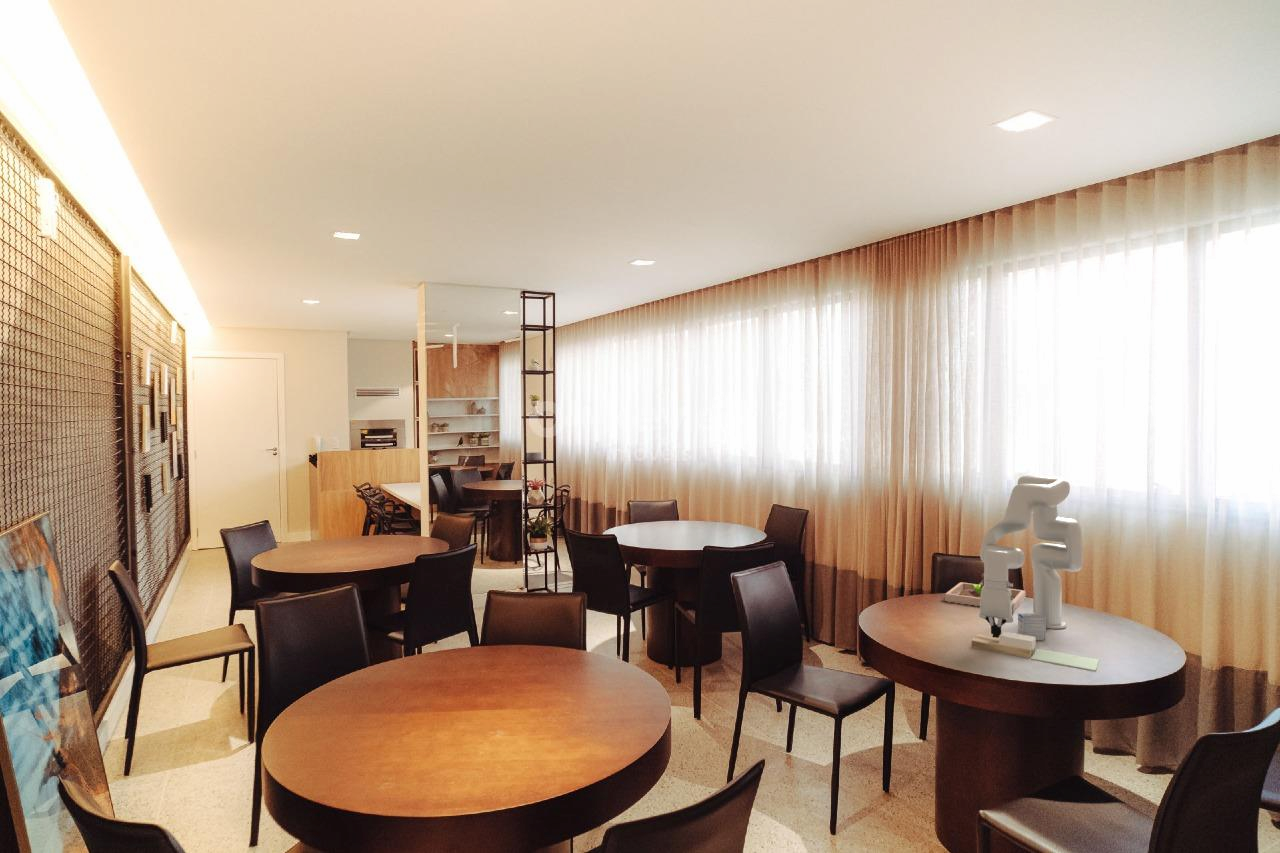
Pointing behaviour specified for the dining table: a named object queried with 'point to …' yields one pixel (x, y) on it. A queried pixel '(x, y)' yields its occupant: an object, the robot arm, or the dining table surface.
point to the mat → (1065, 659)
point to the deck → (998, 646)
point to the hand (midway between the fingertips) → (996, 636)
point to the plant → (974, 590)
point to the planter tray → (954, 597)
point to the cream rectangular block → (1017, 640)
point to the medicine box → (1032, 625)
